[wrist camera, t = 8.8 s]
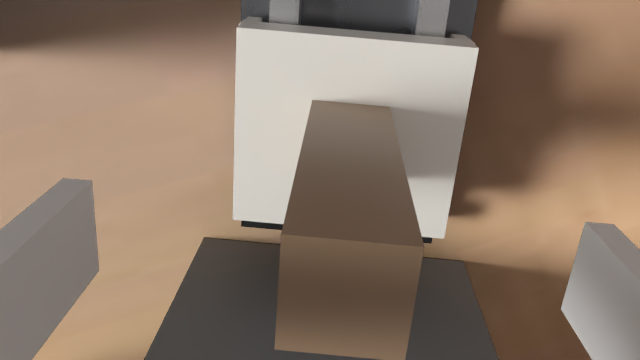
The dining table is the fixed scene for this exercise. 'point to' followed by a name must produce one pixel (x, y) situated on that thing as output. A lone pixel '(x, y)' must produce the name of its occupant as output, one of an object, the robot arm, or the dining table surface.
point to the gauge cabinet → (261, 308)
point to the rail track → (367, 23)
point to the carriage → (348, 172)
